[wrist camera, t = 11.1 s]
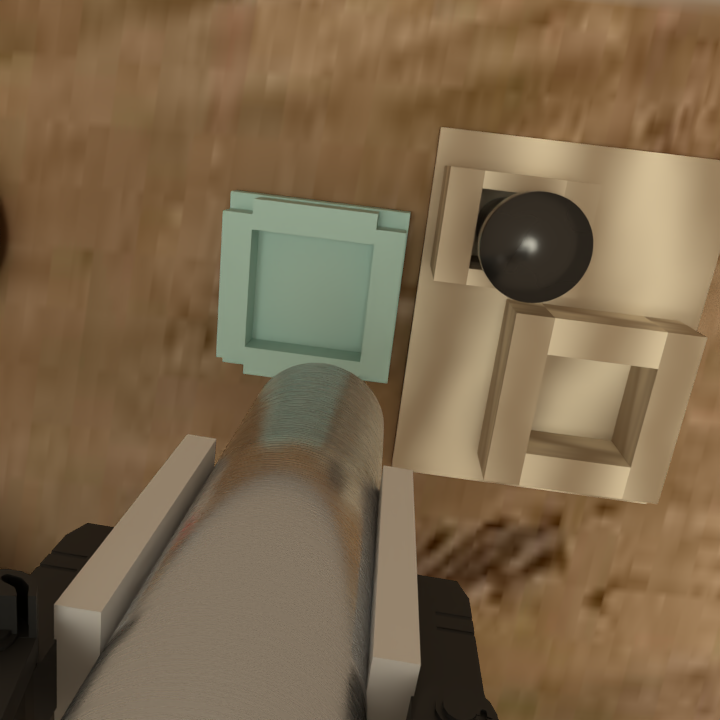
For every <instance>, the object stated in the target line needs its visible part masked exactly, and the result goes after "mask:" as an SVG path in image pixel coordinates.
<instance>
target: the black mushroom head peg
mask: <svg viewBox="0 0 720 720" xmlns="http://www.w3.org/2000/svg"><path fill="white" fill-rule="evenodd" d="M475 233H476V236H477V239H478V257H479V261H480V265H481V267H482V269H483V272H484V273H485V275H486V276H487V278H488V279H489V281H490V282H491V283H492V285H493V286H494V287H495V288H496V289H497V290H498V291H499V292H501V293H502V294H504V295H505V296H507V297H509V298H511V299H513V300H516V301H520V302H525V303H541V302H547V301H550V300H553V299H556V298H558V297H560V296H562V295H563V294H565V293H567V292H568V291H569V290H571V289H572V288H573V287H574V286H575V285H576V284H577V283H578V282H579V281H580V280H581V278H582V277H583V276H584V274H585V272H586V271H587V269H588V266H589V264H590V261H591V258H592V253H593V233H592V229H591V226H590V223H589V221H588V219H587V217H586V216H585V214H584V213H583V211H582V210H581V209H580V208H579V207H578V206H577V205H576V204H575V203H573V202H572V201H571V200H569V199H567V198H565V197H563V196H561V195H558V194H555V193H551V192H546V191H537V190H533V191H525V192H520V193H517V194H514V195H512V196H510V197H499V198H496V199H493V200H491V201H489V202H488V203H486V204H485V205H484V206H483V207H482V208H481V210H480V211H479V213H478V218H477V224H476V230H475Z"/></svg>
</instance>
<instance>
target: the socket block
mask: <svg viewBox="0 0 720 720" xmlns="http://www.w3.org/2000/svg"><path fill="white" fill-rule="evenodd" d="M533 190H537V191H546V192H551V193H555V194H558V195H561V196H563V197H565V198H567V199H569V200H571V201H572V202H573V203H575V204H576V205H577V206H578V207H579V208H580V209H581V210H582V211H583V213H584V214H585V216H586V217H587V219H588V221H589V223H590V226H591V229H592V233H593V253H592V258H591V261H590V264H589V266H588V269H587V271H586V272H585V274H584V276H583V277H582V278H581V280H580V281H579V282H578V283H577V284H576V285H575V286H574V287H573V288H572V289H571V290H569V291H568V292H567V293H565V294H563V295H562V296H560V297H558V298H556V299H553V300H550V301H547V302H541V303H525V302H520V301H516V300H513V299H511V298H509V297H507V296H505V295H504V294H502V293H501V292H499V291H498V290H497V289H496V288H495V287H494V286H493V285H492V283H491V282H490V281H489V279H488V278H487V276H486V275H485V273H484V272H483V269H482V267H481V265H480V261H479V257H478V239H477V236H476V233H475V230H476V224H477V218H478V213H479V211H480V210H481V208H482V207H483V206H484V205H485V204H486V203H488V202H489V201H491V200H493V199H496V198H499V197H510V196H512V195H514V194H517V193H520V192H525V191H533ZM719 253H720V160H714V159H705V158H697V157H688V156H680V155H672V154H663V153H655V152H646V151H638V150H630V149H621V148H613V147H604V146H596V145H588V144H579V143H571V142H562V141H554V140H546V139H537V138H529V137H520V136H512V135H504V134H495V133H487V132H478V131H470V130H462V129H453V128H445V127H441V128H440V134H439V141H438V148H437V155H436V162H435V169H434V176H433V183H432V189H431V196H430V203H429V210H428V217H427V224H426V231H425V238H424V245H423V251H422V258H421V265H420V272H419V279H418V286H417V293H416V300H415V307H414V313H413V320H412V327H411V334H410V341H409V348H408V355H407V362H406V369H405V375H404V382H403V389H402V396H401V403H400V410H399V417H398V424H397V431H396V437H395V444H394V451H393V458H392V467H396V468H402V469H408V470H413V472H416V473H423V474H431V475H438V476H445V477H452V478H460V479H467V480H474V481H482V482H489V483H496V484H503V485H511V486H518V487H525V488H533V489H540V490H547V491H555V492H562V493H569V494H576V495H584V496H591V497H598V498H606V499H613V500H620V501H628V502H635V503H642V504H647V503H652V504H658V502H659V498H660V495H661V492H662V488H663V485H664V482H665V478H666V475H667V472H668V468H669V465H670V462H671V458H672V455H673V451H674V448H675V445H676V441H677V438H678V435H679V431H680V428H681V425H682V421H683V418H684V415H685V411H686V408H687V405H688V401H689V398H690V394H691V391H692V388H693V384H694V381H695V378H696V374H697V371H698V368H699V364H700V361H701V358H702V354H703V351H704V347H705V344H706V341H707V337H706V336H704V335H702V334H701V333H699V332H697V329H698V325H699V322H700V318H701V315H702V312H703V308H704V305H705V301H706V298H707V294H708V291H709V288H710V284H711V281H712V277H713V274H714V270H715V267H716V264H717V260H718V257H719Z"/></svg>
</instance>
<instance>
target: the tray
mask: <svg viewBox="0 0 720 720" xmlns="http://www.w3.org/2000/svg"><path fill="white" fill-rule="evenodd" d="M409 221H410V212H409V211H401V210H393V209H385V208H377V207H369V206H361V205H352V204H344V203H336V202H328V201H320V200H312V199H304V198H296V197H288V196H280V195H271V194H263V193H255V192H247V191H239V190H235V191H231V200H230V209H226V210H223V219H222V241H221V263H220V285H219V306H218V328H217V350H216V357H222V358H223V362H229V363H236V364H244V365H243V374H251V375H258V376H266V377H274V376H275V375H277V374H278V373H280V372H281V371H283V370H285V369H287V368H290V367H292V366H296V365H299V364H305V363H326V364H331V365H335V366H338V367H341V368H343V369H345V370H347V371H349V372H351V373H353V374H354V375H356V376H357V377H359V378H360V379H361V380H364V381H372V382H380V383H387V382H388V374H389V367H390V360H391V352H392V345H393V338H394V330H395V323H396V316H397V309H398V301H399V294H400V287H401V279H402V272H403V265H404V257H405V250H406V243H407V235H408V228H409Z"/></svg>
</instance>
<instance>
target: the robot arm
mask: <svg viewBox="0 0 720 720" xmlns="http://www.w3.org/2000/svg"><path fill="white" fill-rule="evenodd" d="M215 449H216V439H215V438H208V437H202V436H196V435H190V434H187V435H186V436H185V438H184V439H183V440H182V442H181V443H180V444H179V445H178V447H177V448H176V449H175V451H174V452H173V453H172V454H171V456H170V457H169V458H168V459H167V461H166V462H165V463H164V465H163V466H162V467H161V468H160V470H159V471H158V472H157V474H156V475H155V476H154V477H153V479H152V480H151V481H150V482H149V484H148V485H147V486H146V488H145V489H144V490H143V491H142V493H141V494H140V495H139V497H138V498H137V499H136V500H135V502H134V503H133V504H132V505H131V507H130V508H129V509H128V511H127V512H126V513H125V514H124V516H123V517H122V518H121V520H120V521H119V522H118V523H117V525H116V526H115V527H109V526H103V525H97V524H91V523H87V524H85V525H83V526H81V527H79V528H78V529H76V530H74V531H72V532H71V533H69V534H67V535H66V536H65V537H64V538H63V539H62V540H61V541H60V542H59V543H58V544H57V546H56V547H55V548H54V549H53V550H52V553H51V554H48V556H47V557H46V558H45V559H44V560H43V561H42V562H41V563H40V567H37V568H36V569H35V570H34V571H33V572H32V573H31V575H28V574H26V573H24V572H22V571H17V570H10V569H1V570H0V720H61V718H62V716H63V715H64V713H65V711H66V710H67V708H68V707H69V705H70V703H71V702H72V700H73V698H74V697H75V695H76V693H77V692H78V690H79V688H80V687H81V685H82V684H83V682H84V680H85V679H86V677H87V675H88V674H89V672H90V670H91V669H92V667H93V665H94V664H95V662H96V661H97V659H98V657H99V656H100V654H101V652H102V651H103V649H104V647H105V646H106V644H107V642H108V641H109V639H110V638H111V636H112V634H113V633H114V631H115V629H116V628H117V626H118V624H119V623H120V621H121V620H122V618H123V616H124V615H125V613H126V611H127V610H128V608H129V606H130V605H131V603H132V601H133V600H134V598H135V597H136V595H137V593H138V592H139V590H140V588H141V587H142V585H143V583H144V582H145V580H146V578H147V577H148V575H149V574H150V572H151V570H152V569H153V567H154V565H155V564H156V562H157V560H158V559H159V557H160V556H161V554H162V552H163V551H164V549H165V547H166V546H167V544H168V542H169V541H170V539H171V537H172V536H173V534H174V533H175V531H176V529H177V528H178V526H179V524H180V523H181V521H182V519H183V518H184V516H185V514H186V513H187V511H188V510H189V508H190V506H191V505H192V503H193V501H194V500H195V498H196V496H197V495H198V493H199V492H200V490H201V488H202V487H203V485H204V483H205V482H206V480H207V478H208V477H209V475H210V473H211V472H212V470H213V469H214V461H215ZM366 694H367V720H498V717H497V714H496V712H495V710H494V708H493V707H492V705H491V703H490V702H489V701H488V700H487V699H486V698H485V695H484V691H483V684H482V678H481V672H480V665H479V659H478V653H477V646H476V640H475V636H474V627H473V621H472V615H471V608H470V602H469V598H468V597H467V595H466V594H465V592H464V591H463V589H462V588H461V587H460V585H459V584H458V582H457V581H452V580H446V579H440V578H434V577H428V576H422V575H417V561H416V536H415V512H414V488H413V470H408V469H402V468H396V467H390V466H383V471H382V477H381V483H380V489H379V501H378V516H377V532H376V548H375V563H374V579H373V595H372V610H371V626H370V642H369V657H368V673H367V689H366Z"/></svg>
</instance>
